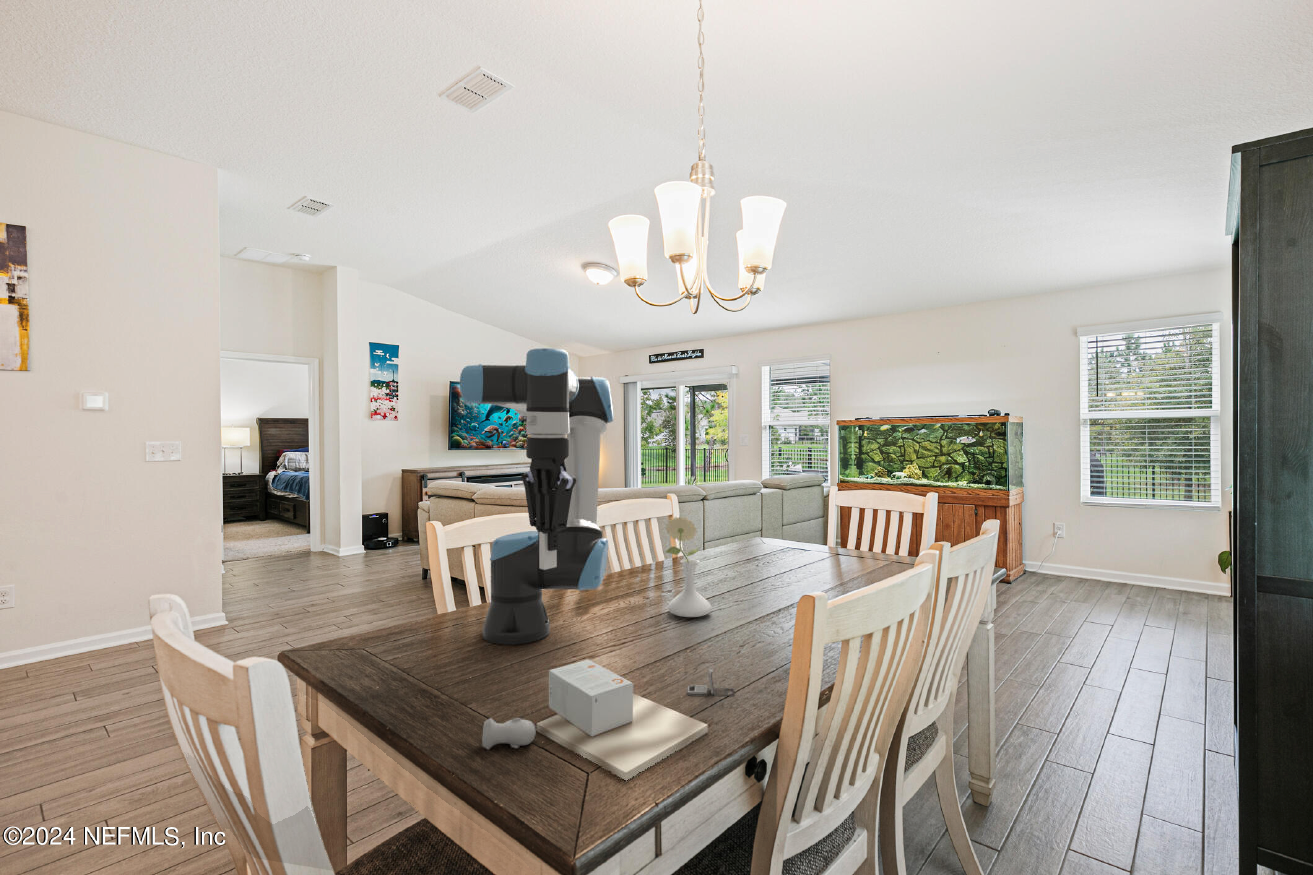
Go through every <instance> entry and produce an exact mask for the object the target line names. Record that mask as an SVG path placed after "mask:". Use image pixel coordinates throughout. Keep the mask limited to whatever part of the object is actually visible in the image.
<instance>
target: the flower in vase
mask: <svg viewBox="0 0 1313 875" xmlns="http://www.w3.org/2000/svg"><path fill="white" fill-rule="evenodd" d="M665 531H666V533H667V534H668V536H669V537H670V538H672V539H673V540H677V541H678V542H679V548H678V547H676V546H671V547H669V548H668V549H667V550H666V551H665V552H666V553H668V554H672V555H675V556H676V555H679V554H680V553H682V555H683V556H684V559H681V560H679V563H680V564H681V565H682V567H683V570H684V577H685V581H684V582H685V584H684V588H683V590H682V592H680V593H679V594H678V595H677V596H675V597H674V598H673V599H672V600H670V602H669V603H668V604H667V610H668V611H669V613H671V614H673V615H674V616H678V617H681V618H682V617H683V618H699V617H703V616H706V615H708V614H709V613H710V612H711V611H712V610H713V608H712V605H711V603H710V602H709V601H708V600H707V599H706V598H704V596H702V595H701V594H700V593H699V592H697V590H696V588H695V574H696V573H695V572H696V568H697V566H698V565H699V563H700V560H698V559H695V558H687V557H689V556H693V555H695V554H696V553H698V551H699V550H700V548H701V547H697V548H695V549H691V550H690V551H689V552H688V553H687V554H685V552H684V551H683V549H682V545H681V544H682V542H686V541H690V540H693V539H695V536H696V533H697V532H698V530H697V528H696V526H695V524H694V523H693V521H692V520H688V518H686V517H683V518H682V516H679V517H677V516H675V517H673V519H670V520H668V521H667V524H666V526H665Z"/></svg>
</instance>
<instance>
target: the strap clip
mask: <svg viewBox="0 0 1313 875" xmlns="http://www.w3.org/2000/svg"><path fill="white" fill-rule="evenodd" d="M712 673H713V674H714V669H711V668H709V670H708V678H709V686H708V685H706V684H705V685H702V684H691V685H688V686H687V695H688V696H703V695H704V696H708V695H710V694H711V695H713V696H716V697H727V696H729V697H735V694H736V692H735V689H733V688H728V687H722V688H720V687H717V688H716V687H714V681H713V675H712ZM709 688H710V689H709ZM709 690H710V691H709ZM728 691H731V692H732V694H728V693H729V692H728Z"/></svg>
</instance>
